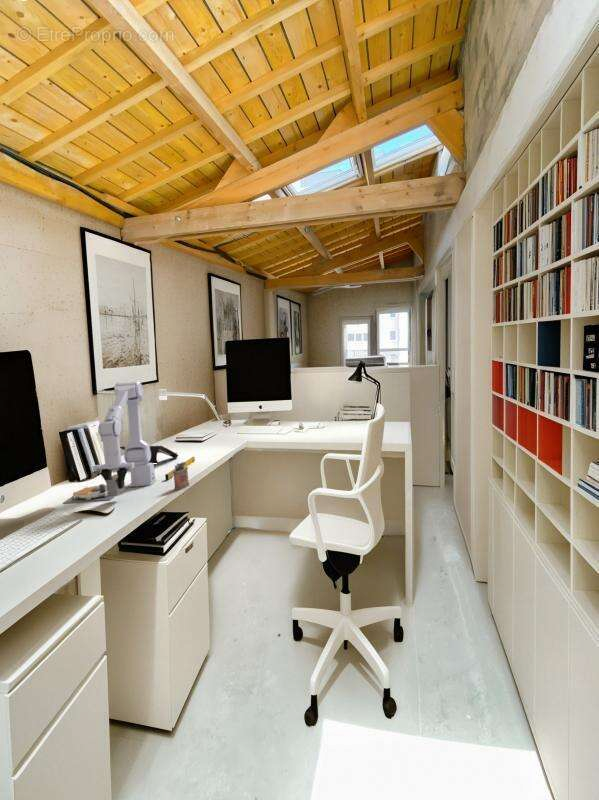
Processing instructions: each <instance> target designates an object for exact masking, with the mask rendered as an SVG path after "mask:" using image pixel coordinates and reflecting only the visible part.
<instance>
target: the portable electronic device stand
mask: <svg viewBox="0 0 599 800" xmlns="http://www.w3.org/2000/svg"><path fill="white" fill-rule="evenodd" d="M149 446H150V451H151V459H150V461H149V462H148V463H158V459H157V458H158V453H160V454H164V455H165V456H170V457H171V458H173V459H176V458H177V459H178V457H179V454H178V453H177V452H174V451H173V450H170V449H169V448H167V447H164V446H163V445H149ZM136 448H142V447H136ZM131 449H133V448H131ZM120 450H123V451H125V446H120Z"/></svg>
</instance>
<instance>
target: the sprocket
mask: <svg viewBox="0 0 599 800" xmlns="http://www.w3.org/2000/svg"><path fill="white" fill-rule="evenodd" d="M72 496H74V499H75V500H77V499H86V500H91V499H94V498H100V497H107V496H108V494H107V485H106V484H103V483H102V484H101V483H100V484H99V485H93V486H90V487H88V486H87V487H83V488H82V489H79V490H78V491H74V492H72Z"/></svg>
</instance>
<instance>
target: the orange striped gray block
mask: <svg viewBox="0 0 599 800" xmlns="http://www.w3.org/2000/svg"><path fill="white" fill-rule="evenodd" d="M105 483H106V484H105V485H107V494H108V496H115V497H116V496H119V495H120V494H121V493H122V492H123V491H125V490H126V488H125V486H126V484H125V482H124V487H123V488H122V489H120V487H119V479H118V475H117V473H115V474H113V475H112V477H110V478H109V479H107V480H106V481H105Z"/></svg>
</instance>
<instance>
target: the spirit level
mask: <svg viewBox="0 0 599 800" xmlns="http://www.w3.org/2000/svg"><path fill="white" fill-rule="evenodd" d="M194 461H195V462H196V459H195V456H191V458H189V459H187V460H186V461H184V462H185V464H186V465H184V467H187V466H188V465H190V464H191V463H193V462H194ZM195 462H194V463H195ZM194 463H193V464H194ZM191 465H192V464H191ZM191 465H190V466H191ZM188 467H189V466H188ZM175 470H176V469H175V468H174V469H173V470H171V471H169V472H167V473H166V474H165V481H166V480H171V479H173V478H174V477H173V476H174V474H173V471H175ZM172 477H173V478H172Z"/></svg>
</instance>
